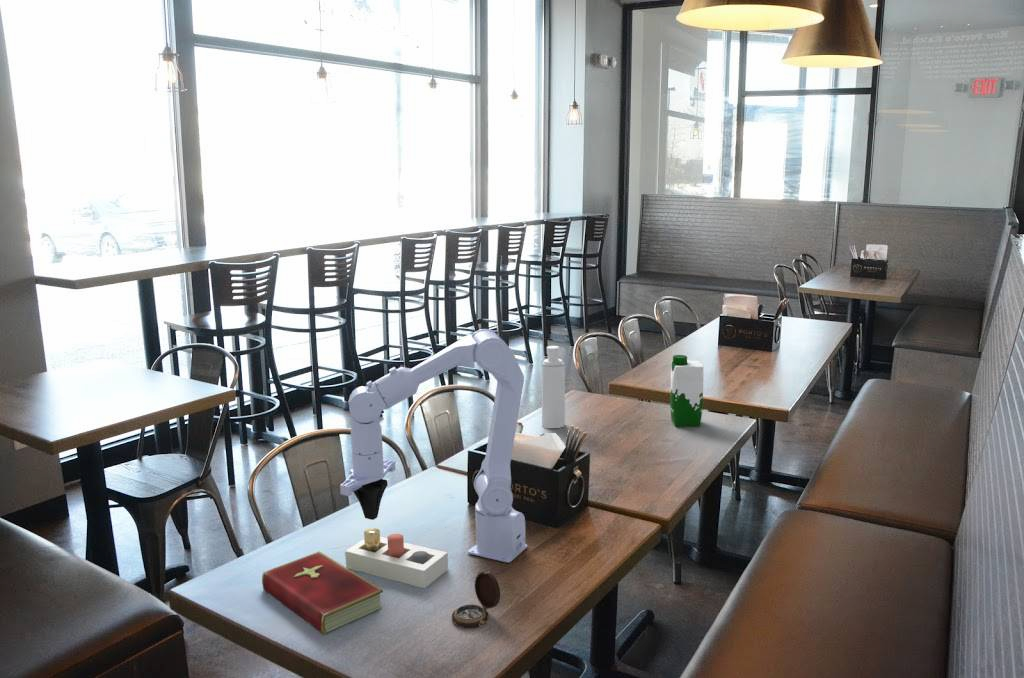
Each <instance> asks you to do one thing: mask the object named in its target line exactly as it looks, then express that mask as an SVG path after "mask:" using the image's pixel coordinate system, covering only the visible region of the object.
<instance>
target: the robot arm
mask: <svg viewBox="0 0 1024 678" xmlns="http://www.w3.org/2000/svg"><path fill="white" fill-rule="evenodd" d="M475 363H477V365H478V367H480V368H481V369H483V370H484V371H485V372H488V373H489V374H490V375H492V376H493V377H494V378H493V379H495V380H496V382H497V383H496V388H495V389H496V390H495V396H494V401H493V407H492V412H491V420H490V427H489V432H488V440H487V445H486V451H485V457H484V458H483V460H482V462H481V466H480V470H479V471H478V473H477V474H476V476H475V478H474V482H473V488H474V490H475V493H476V494H477V495H478V500H477V502H476V503H475V506H474V510H475V513H474V515H475V516H474V517H475V545H473V546H472V547H471V548H469V549H468V550H467V554H469V555H473V556H474V555H475V556H477V557H480V558H481V557H482V558H485V559H490V560H494V561H499V562H504V563H507V564H509V563H512V561H514V559H516V558H517V556H519V555H520V554H521V553H522V552H523V551H524V550H526V549H527V548H528V544H526V543H527V541H526V520H525V519H526V518H525V515H524V514H523V512H520V511H517V510H515V508H513V502H514V495H513V492H512V488H511V486H512V485H511V484H512V475H511V474H512V473H511V461H512V457H513V450H514V449H513V448H514V444H515V443H514V442H515V437H516V431H517V425H518V420H519V412H520V407H521V401H522V394H523V388H524V382H525V375H524V373H523V371H522V369H521V367H520V365H519V362H518V360H517V358H516V356H515V352H514V350H512V348H511V347H510V346H508V344H507V343H506V342H505V341H504V340H503V339H502V338H501V337H500V336H499V335H498V334H497V333H496V332H495V331H493V330H491V329H488V328H482V329H478V330H476V331H474V332H473V334H472V335H471V334H467V335H464V336H463V337H462V338H460V339H458V340H457V341H455V342H454V343H452V344H450V345H448V346H447V347H445V348H444V349H442V350H440V351H439V352H438V351H437V353H435V354H433V355H432V356H430V357H428V358H426V359H425V360H424V361H422V362H420V363H419V364H417V365H415V366H414V367H412V368H409V367H405V366H401V367H398V368H396V366H393V367H391V368H390V369H388V371H389V373H387V374H385V375H384V376H383V375H382V376H381V377H379V378H378V379H376V380H374V381H372V380H369V381H367V382H366V386H363V385H361V386H358V387H356V388H354V389H353V390H352V392H351V393H350V395H349V398H348V400H347V401H348V402H347V403H348V410H349V413H350V415H351V417H350V425H351V427H350V438H351V439H350V441H351V455H352V468H351V469H350V470H349V471H348V472H349V475H348V477H347V478H346V479H345V480H344V482H342V483H340V485H339V488H340V489H339V491H340V495H342V496H346V497H350V496H352V495H353V494H354V495H355V497H356V498H357V500H358V502H359V504H360V507H361V510H362V513H363V516H364V518H365V519H367V520H372V521H373V520H375V519H377V518H378V516H379V511H380V507H381V503H382V498H383V496H384V493H385V491H386V488H387V487H388V479H384V478H385V476H386V475H387V474H388V473H390V472H391V473H392V472H396V460H391V459H385V460H384V448H383V431H382V425H381V423H380V419H381V418H380V417H381V415H382V411H384V410H388V409H391V408H392V407H394V406H396V405H398V404H400V403H402V402H403V401H405V400H407V399H409V398H410V397H412V396H413V395H416V394H417V392H418V389H419V387H420V385H421V384H423V383H424V382H427V381H429V380H430V379H433V378H435V377H438V376H439V375H441V374H444V373H445V372H447V371H449V370H451V369H454V368H455V367H463V368H471V369H475Z"/></svg>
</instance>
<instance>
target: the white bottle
mask: <svg viewBox="0 0 1024 678" xmlns="http://www.w3.org/2000/svg"><path fill="white" fill-rule="evenodd" d="M546 354H547V358H545V359H544V360H543V361H541V363H540V364H541V365H540V366H541V367H540V368H541V371H540V372H541V426H542V427H543V426H544V427H546V428H545V429H547V428H559V427H563V426H564V425H565V426H566V377H565V375H566V371H565V369H566V368H565V361H563V359H561V358H559V355H560V346H557V345H547V346H546ZM565 426H564V427H565ZM544 427H543V428H544ZM564 427H563V428H564Z"/></svg>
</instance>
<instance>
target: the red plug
mask: <svg viewBox="0 0 1024 678" xmlns="http://www.w3.org/2000/svg"><path fill="white" fill-rule="evenodd" d="M386 538H387V540H388V556H391V557H395V558H400V557H401V556H403V555H404V542H405V541H404V535H403V534H402V533H401V534H400V533H392V534H390V535H388V536H387V537H386Z"/></svg>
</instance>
